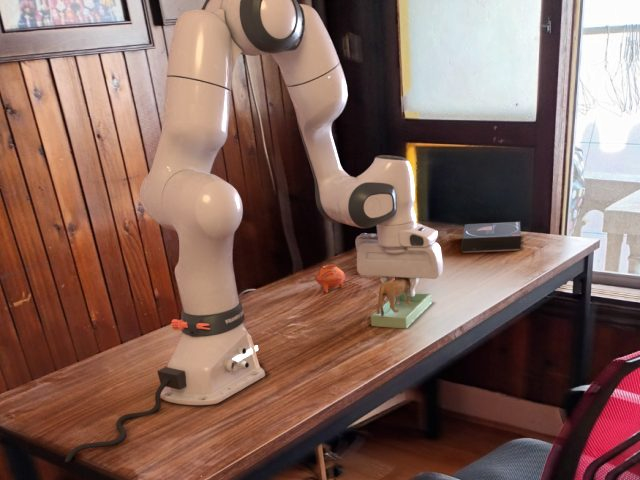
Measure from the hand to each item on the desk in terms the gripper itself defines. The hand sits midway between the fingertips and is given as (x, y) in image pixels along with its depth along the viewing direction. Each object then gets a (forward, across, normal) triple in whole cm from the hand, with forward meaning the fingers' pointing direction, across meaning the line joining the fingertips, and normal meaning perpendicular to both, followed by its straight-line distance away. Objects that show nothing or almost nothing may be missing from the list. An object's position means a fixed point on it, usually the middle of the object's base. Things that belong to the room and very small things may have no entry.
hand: (400, 295), depth 175 cm
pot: (+5, -26, +15) cm, 30 cm away
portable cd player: (+5, +4, +62) cm, 62 cm away
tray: (+5, 0, 0) cm, 5 cm away
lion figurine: (+2, -1, -2) cm, 3 cm away
